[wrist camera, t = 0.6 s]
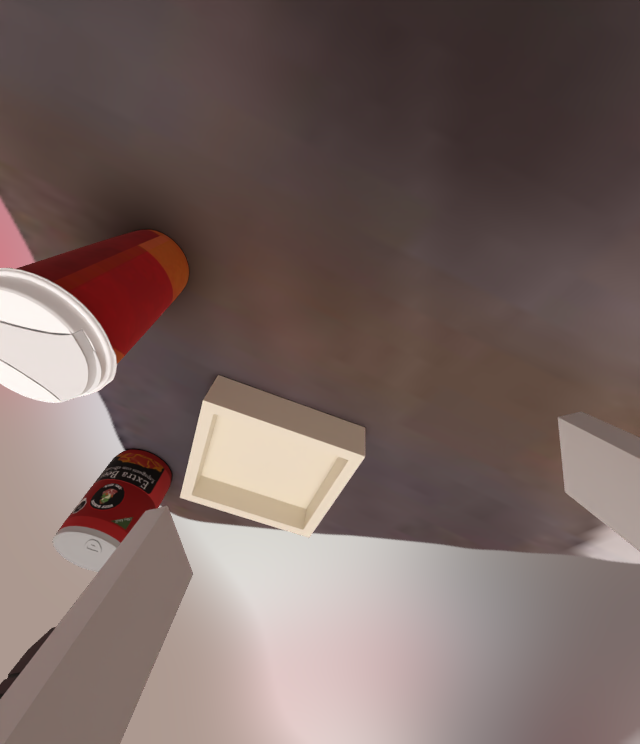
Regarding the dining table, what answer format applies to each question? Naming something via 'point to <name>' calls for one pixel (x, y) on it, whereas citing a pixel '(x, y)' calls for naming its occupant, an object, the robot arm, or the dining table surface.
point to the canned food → (112, 508)
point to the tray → (269, 457)
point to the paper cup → (84, 312)
